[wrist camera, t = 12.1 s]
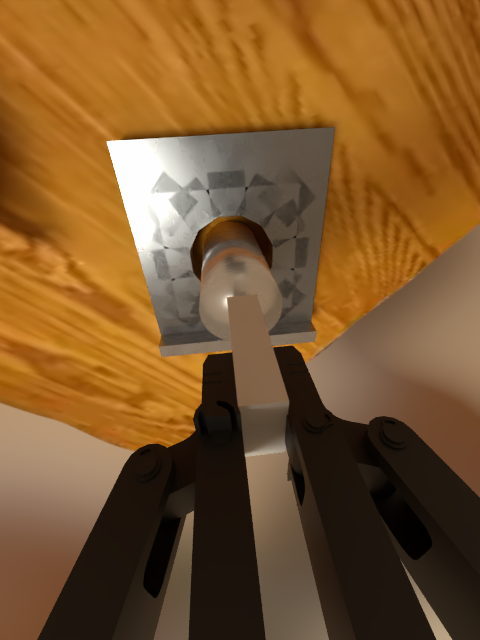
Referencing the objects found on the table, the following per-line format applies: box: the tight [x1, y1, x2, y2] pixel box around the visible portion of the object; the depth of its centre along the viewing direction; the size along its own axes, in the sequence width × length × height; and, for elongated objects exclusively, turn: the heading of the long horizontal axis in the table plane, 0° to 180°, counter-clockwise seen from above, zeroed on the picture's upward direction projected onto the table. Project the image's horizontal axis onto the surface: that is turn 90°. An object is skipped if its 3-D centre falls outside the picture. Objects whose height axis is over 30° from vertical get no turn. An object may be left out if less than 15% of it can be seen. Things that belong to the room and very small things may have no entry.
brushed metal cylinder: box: [199, 221, 283, 341], centre depth 18 cm, size 5×5×10 cm
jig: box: [107, 127, 335, 357], centre depth 21 cm, size 16×14×4 cm
